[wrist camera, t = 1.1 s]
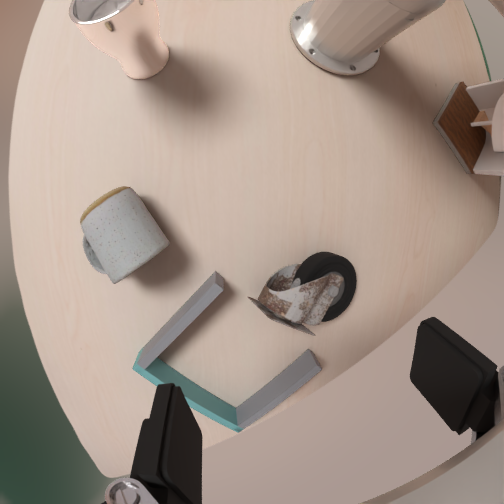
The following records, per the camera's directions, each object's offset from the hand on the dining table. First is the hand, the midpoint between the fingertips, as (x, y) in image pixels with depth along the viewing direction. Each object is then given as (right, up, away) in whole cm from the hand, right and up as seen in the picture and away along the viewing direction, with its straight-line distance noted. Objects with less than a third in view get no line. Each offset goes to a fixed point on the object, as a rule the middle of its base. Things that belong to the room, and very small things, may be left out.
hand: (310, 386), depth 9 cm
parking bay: (-5, -9, +27) cm, 29 cm away
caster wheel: (+5, +1, +26) cm, 26 cm away
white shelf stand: (+32, +25, +23) cm, 47 cm away
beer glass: (-15, +28, +17) cm, 36 cm away
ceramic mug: (-17, +7, +22) cm, 29 cm away
